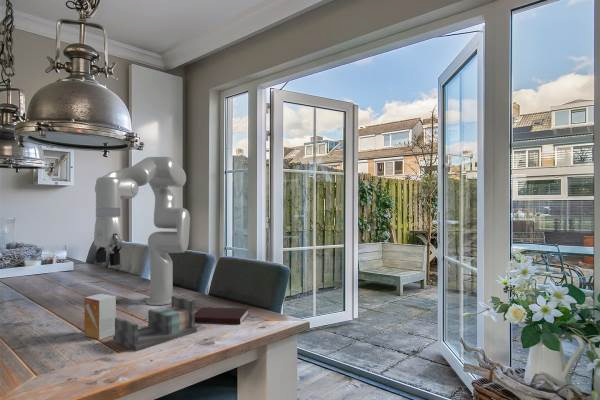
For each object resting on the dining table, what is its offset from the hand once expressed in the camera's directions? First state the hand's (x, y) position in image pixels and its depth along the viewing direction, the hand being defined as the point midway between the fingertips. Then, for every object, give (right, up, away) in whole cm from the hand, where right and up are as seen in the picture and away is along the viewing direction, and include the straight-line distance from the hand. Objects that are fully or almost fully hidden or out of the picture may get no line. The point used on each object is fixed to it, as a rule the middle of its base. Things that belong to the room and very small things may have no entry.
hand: (107, 263), depth 130 cm
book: (+35, -25, +18) cm, 46 cm away
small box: (-2, -24, -1) cm, 24 cm away
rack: (+17, -24, -2) cm, 30 cm away
